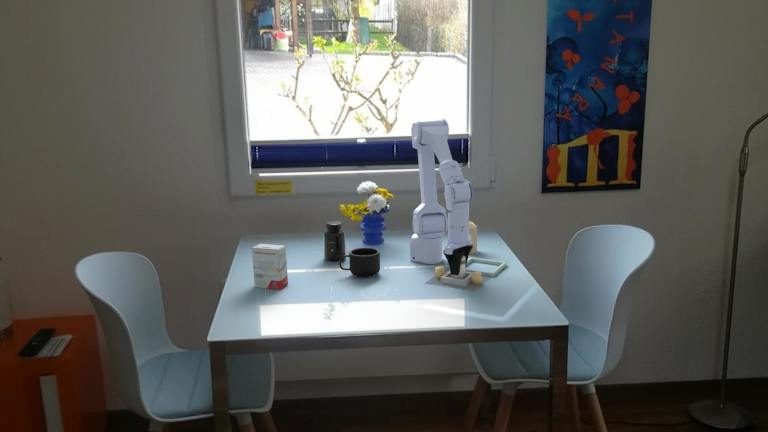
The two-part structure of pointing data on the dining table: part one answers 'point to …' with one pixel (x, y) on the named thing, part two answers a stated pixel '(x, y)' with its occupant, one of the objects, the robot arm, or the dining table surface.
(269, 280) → the ink box
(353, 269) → the mug
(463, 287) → the fuse panel
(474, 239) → the candle
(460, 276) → the cylinder
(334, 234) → the supplement bottle
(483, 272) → the parts tray
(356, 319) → the dining table surface
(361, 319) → the dining table surface
